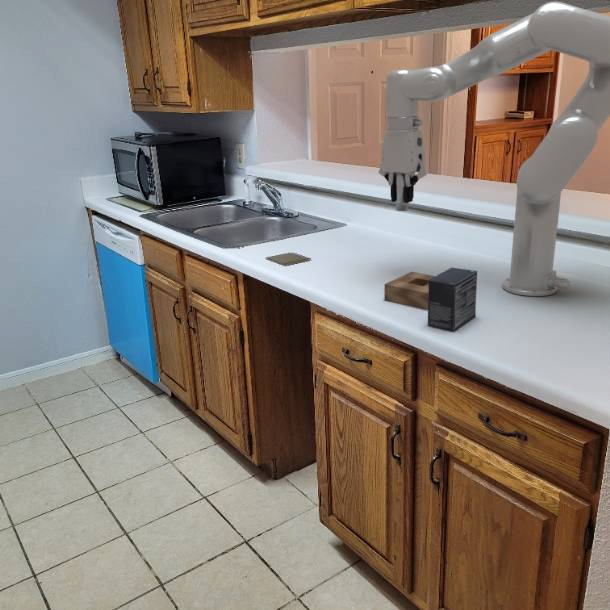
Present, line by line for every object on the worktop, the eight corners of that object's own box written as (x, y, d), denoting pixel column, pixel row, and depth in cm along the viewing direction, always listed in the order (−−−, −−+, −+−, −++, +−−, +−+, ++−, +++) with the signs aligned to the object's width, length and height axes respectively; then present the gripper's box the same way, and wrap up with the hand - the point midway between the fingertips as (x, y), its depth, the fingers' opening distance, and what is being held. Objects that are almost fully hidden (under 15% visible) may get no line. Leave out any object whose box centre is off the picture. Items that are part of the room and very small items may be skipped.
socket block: (455, 295, 143) (455, 279, 142) (429, 310, 135) (430, 293, 134) (411, 287, 151) (411, 271, 150) (384, 300, 142) (384, 284, 141)
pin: (410, 209, 151) (410, 168, 148) (403, 211, 149) (404, 170, 146) (400, 208, 153) (400, 168, 150) (393, 210, 151) (393, 169, 148)
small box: (448, 311, 134) (450, 266, 131) (476, 317, 130) (479, 270, 127) (425, 326, 127) (427, 278, 123) (454, 332, 123) (456, 283, 119)
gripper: (440, 123, 142) (438, 201, 148) (382, 123, 152) (383, 196, 158) (424, 126, 137) (423, 206, 143) (365, 126, 147) (366, 201, 153)
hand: (401, 200), depth 150 cm, fingers closed on pin, 3 cm apart
